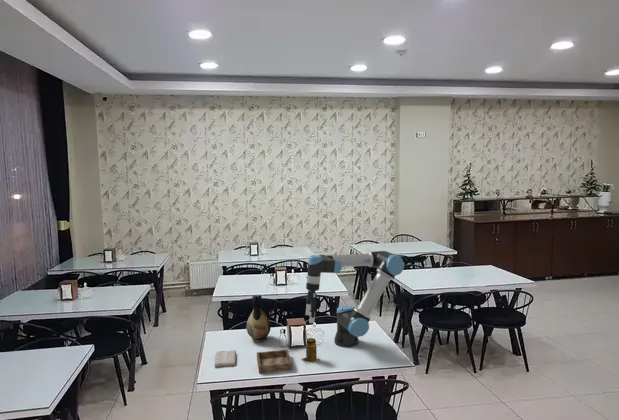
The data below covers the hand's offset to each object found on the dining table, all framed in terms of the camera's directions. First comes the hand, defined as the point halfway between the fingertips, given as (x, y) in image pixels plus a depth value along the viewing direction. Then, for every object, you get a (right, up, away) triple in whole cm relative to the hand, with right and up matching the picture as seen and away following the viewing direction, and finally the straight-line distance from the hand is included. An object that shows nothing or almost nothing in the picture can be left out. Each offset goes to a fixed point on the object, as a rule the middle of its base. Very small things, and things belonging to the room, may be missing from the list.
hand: (309, 318), depth 252 cm
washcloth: (-49, -25, +3) cm, 55 cm away
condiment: (0, -24, +1) cm, 24 cm away
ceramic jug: (-33, -21, +31) cm, 50 cm away
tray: (-20, -25, -4) cm, 32 cm away
